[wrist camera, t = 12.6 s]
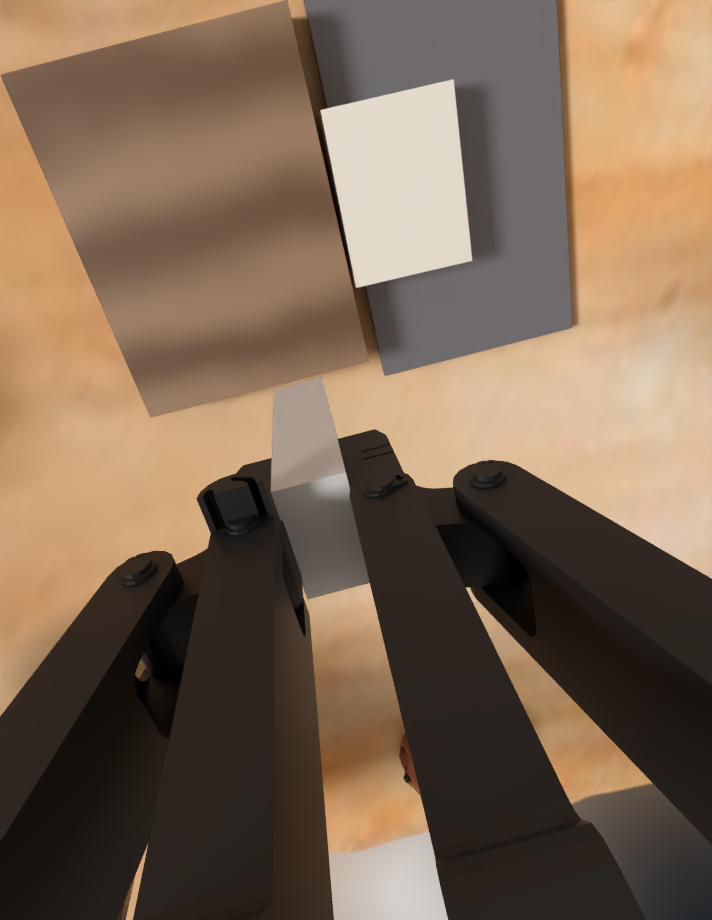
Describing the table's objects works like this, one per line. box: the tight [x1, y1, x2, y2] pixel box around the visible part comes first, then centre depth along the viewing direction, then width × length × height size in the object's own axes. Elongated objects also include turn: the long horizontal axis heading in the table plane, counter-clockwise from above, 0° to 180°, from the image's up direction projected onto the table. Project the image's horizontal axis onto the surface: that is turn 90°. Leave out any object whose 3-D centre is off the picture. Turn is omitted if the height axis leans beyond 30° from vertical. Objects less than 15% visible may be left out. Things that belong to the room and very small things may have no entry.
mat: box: [304, 0, 572, 376], centre depth 32 cm, size 22×13×1 cm, turn 13°
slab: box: [319, 79, 472, 288], centre depth 31 cm, size 9×7×2 cm
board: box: [1, 0, 369, 418], centre depth 31 cm, size 18×14×3 cm
